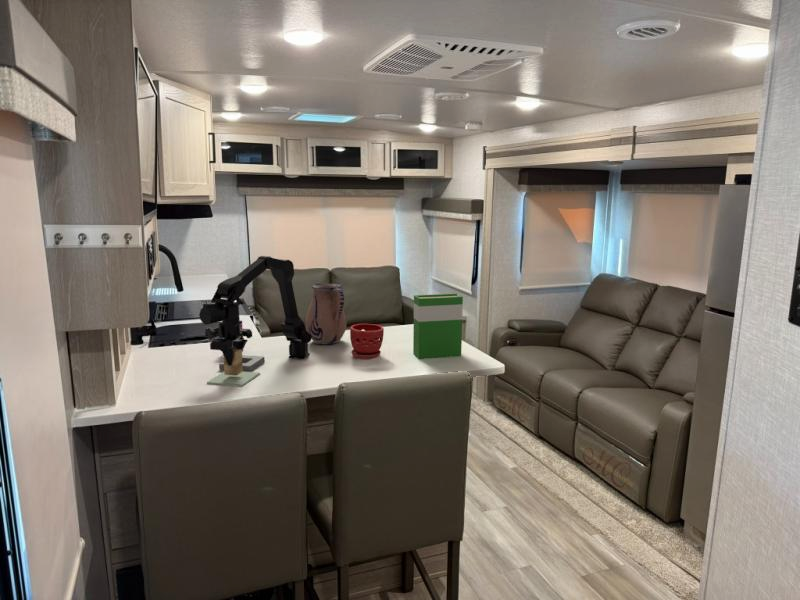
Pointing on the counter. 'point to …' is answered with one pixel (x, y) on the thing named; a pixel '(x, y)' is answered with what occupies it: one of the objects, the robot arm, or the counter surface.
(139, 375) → the counter surface
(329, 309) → the ceramic pitcher
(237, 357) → the oak block
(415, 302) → the hardback book
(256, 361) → the charcoal holder
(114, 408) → the counter surface
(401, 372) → the counter surface
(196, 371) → the counter surface
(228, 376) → the rubber mat
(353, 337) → the plant pot
